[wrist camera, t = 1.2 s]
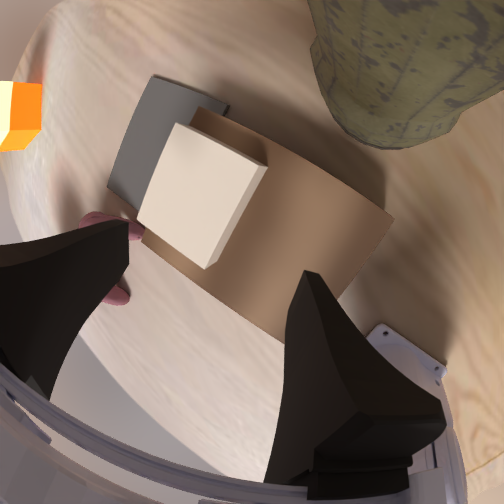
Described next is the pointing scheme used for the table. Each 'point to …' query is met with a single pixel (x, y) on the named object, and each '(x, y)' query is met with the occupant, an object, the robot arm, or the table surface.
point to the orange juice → (19, 114)
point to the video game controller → (135, 233)
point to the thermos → (406, 64)
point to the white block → (198, 193)
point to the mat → (153, 135)
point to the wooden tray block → (281, 231)
